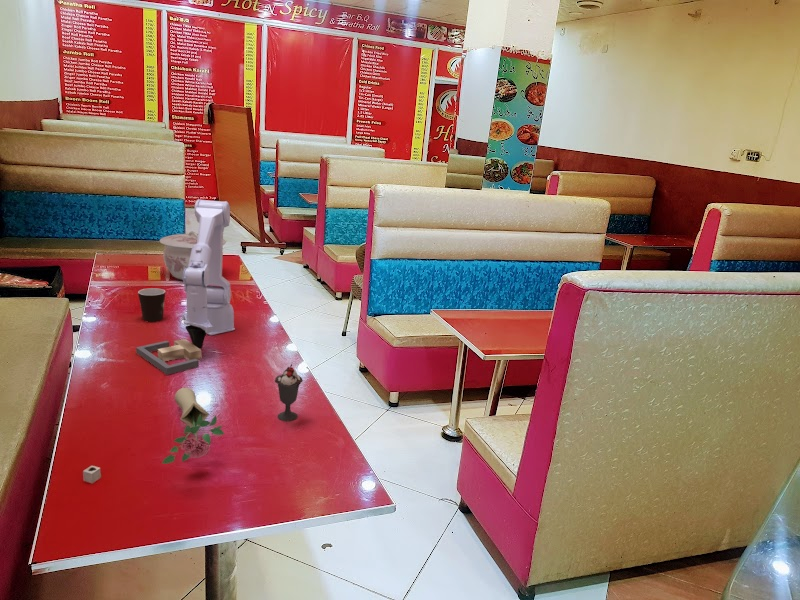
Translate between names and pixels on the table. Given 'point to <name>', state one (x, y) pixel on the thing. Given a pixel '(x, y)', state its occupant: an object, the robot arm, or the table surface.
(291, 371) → the sundae
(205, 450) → the flower vase
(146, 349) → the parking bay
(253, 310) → the table surface
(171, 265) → the chamber pot
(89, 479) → the beige hollow cube
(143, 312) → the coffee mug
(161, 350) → the T block
